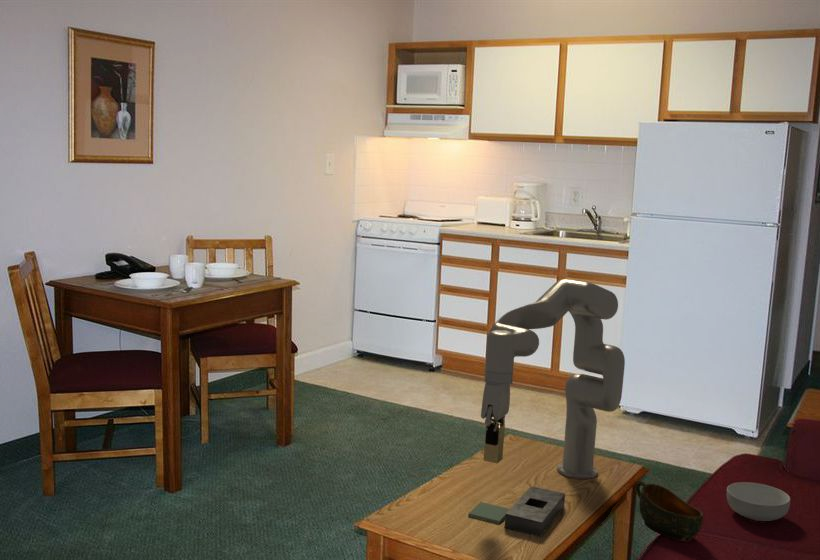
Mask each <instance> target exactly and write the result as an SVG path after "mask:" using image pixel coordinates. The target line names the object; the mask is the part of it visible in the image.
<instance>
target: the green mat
mask: <svg viewBox="0 0 820 560" xmlns="http://www.w3.org/2000/svg"><path fill="white" fill-rule="evenodd" d="M509 509H510V508H507V507H503V506H499V505H495V504H491V503H488V502H487V503H486V502H483V501H480V502H479V503H478V504H477V505H476V506H475V507H473V509H471V510H470V512H468V517H469V518H470V517H471V518H475V519H477V520H478V519H479V520H482V521H487V522H490V523H494V524H498V525H499V524H501V523H502V522H503V521H504V520H505V513H506V512H507V511H508V510H509Z"/></svg>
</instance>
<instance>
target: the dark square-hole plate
mask: <svg viewBox="0 0 820 560" xmlns="http://www.w3.org/2000/svg"><path fill="white" fill-rule="evenodd" d="M565 500H566V493H564V492H559V491H555V490H550V489H547V488H542V487H538V486H534V485H531V486H530V487H529V488H528V489H527V490H526V491H525V492H524V493H523V494H522V496H520V497H519V498H518V500H517V501H516V502H515V503H514V504H513V505H512V506H510V508H508V509H509V510H508V511H507V512H506V513H505V518H504V529H509V530H513V531H516V532H521V533H525V534H528V535H533V536H535V537H542V536H543V535H544V533H545V532H546V531H547V530H548V529H549V527H550V525H552V523H553V522H554V521H555V520H556V518H557V516H558V515H559V514H560V513H561V511H562V510H563V509H564V508H565V502H566V501H565Z"/></svg>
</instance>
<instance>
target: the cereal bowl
mask: <svg viewBox="0 0 820 560" xmlns="http://www.w3.org/2000/svg"><path fill="white" fill-rule="evenodd" d="M726 500H727V503H728V505H729V507H730V508H731V509H732V510H733V511H734V512H735V513H737V515H738V514H739V515H740V516H742V517H743V516H744V518H745V517H747V518H750V519H754V520H761V521H769V522H770V521H775V520H779V519H781V518H783V517H784V516H785V515H787V513H788V512H789V509H790V506H791V497H790V496H789V494H788V493H786V492H785V491H783V490H781V489H779V488H776V487H773V486H771V485H767V484H763V483H758V482H749V481H747V482H746V481H742V482H741V481H740V482H733V483H731V484H729V485H728V486H727V487H726ZM747 518H746V519H747Z"/></svg>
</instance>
